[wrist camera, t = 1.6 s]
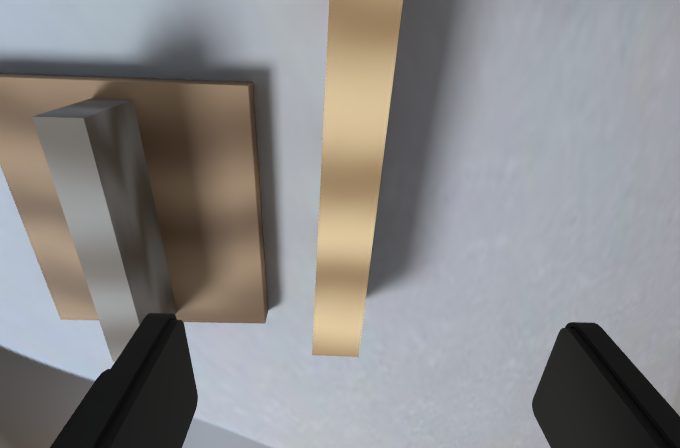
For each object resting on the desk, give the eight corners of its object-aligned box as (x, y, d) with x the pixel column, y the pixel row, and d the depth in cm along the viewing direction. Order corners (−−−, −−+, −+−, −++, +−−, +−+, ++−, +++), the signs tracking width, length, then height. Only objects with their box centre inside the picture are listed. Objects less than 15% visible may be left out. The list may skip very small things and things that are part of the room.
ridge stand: (-14, 73, 23) (-129, 89, 17) (252, 82, 24) (226, 101, 18) (72, 307, 31) (13, 370, 26) (267, 310, 32) (253, 374, 26)
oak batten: (335, -101, 20) (336, -146, 14) (397, -95, 20) (420, -138, 15) (315, 299, 32) (312, 354, 26) (354, 301, 32) (358, 356, 27)
